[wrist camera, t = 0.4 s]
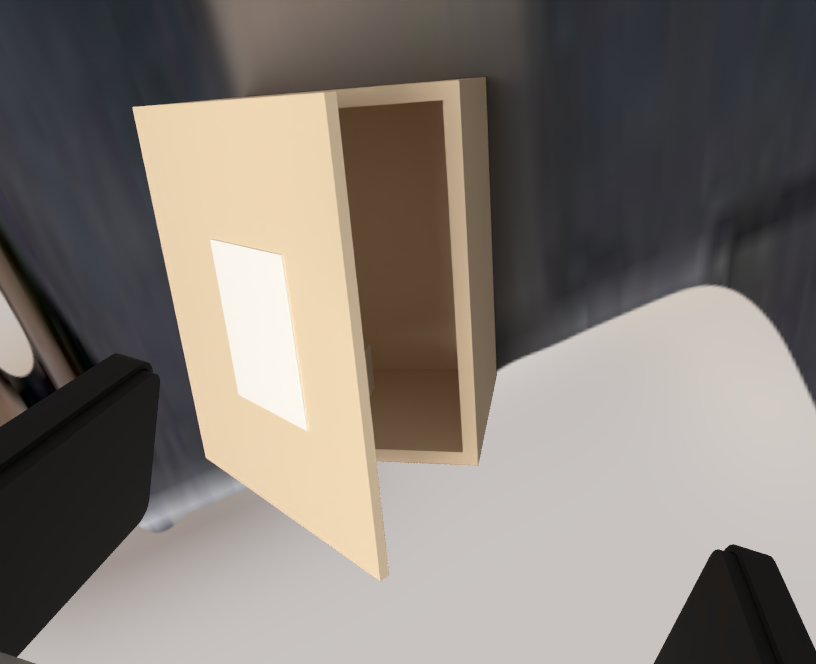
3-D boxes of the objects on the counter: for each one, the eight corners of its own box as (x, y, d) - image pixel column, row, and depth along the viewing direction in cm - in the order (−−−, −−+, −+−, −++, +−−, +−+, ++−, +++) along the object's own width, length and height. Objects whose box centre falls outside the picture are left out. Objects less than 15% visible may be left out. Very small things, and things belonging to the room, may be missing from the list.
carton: (485, 76, 41) (459, 79, 30) (498, 425, 50) (481, 526, 39) (244, 97, 45) (142, 106, 34) (293, 419, 53) (225, 510, 42)
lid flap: (336, 91, 23) (321, 92, 22) (389, 575, 30) (378, 582, 29) (142, 106, 34) (130, 107, 33) (213, 454, 41) (204, 458, 40)
